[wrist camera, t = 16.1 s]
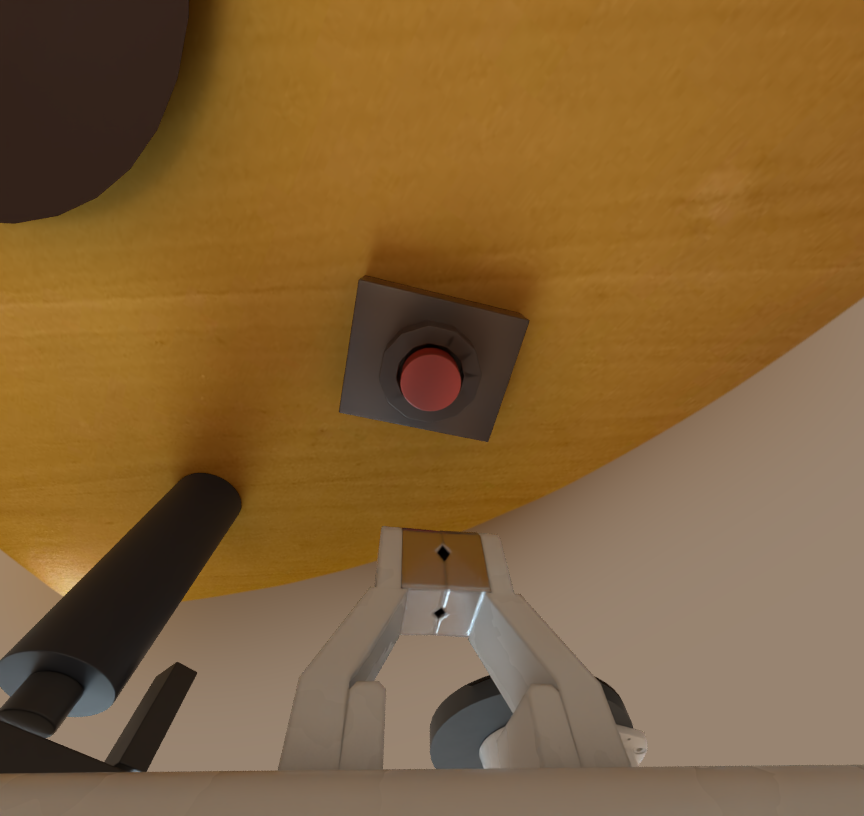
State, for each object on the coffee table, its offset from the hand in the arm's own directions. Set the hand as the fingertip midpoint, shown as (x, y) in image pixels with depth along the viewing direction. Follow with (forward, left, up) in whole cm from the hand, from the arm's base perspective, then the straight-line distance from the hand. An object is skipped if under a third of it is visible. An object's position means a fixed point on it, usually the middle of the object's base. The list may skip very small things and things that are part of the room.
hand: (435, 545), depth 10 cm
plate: (+29, -16, -22) cm, 40 cm away
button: (-1, +1, -17) cm, 18 cm away
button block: (-1, +1, -22) cm, 22 cm away
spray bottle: (+15, +21, -22) cm, 33 cm away
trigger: (+12, +23, -9) cm, 27 cm away
